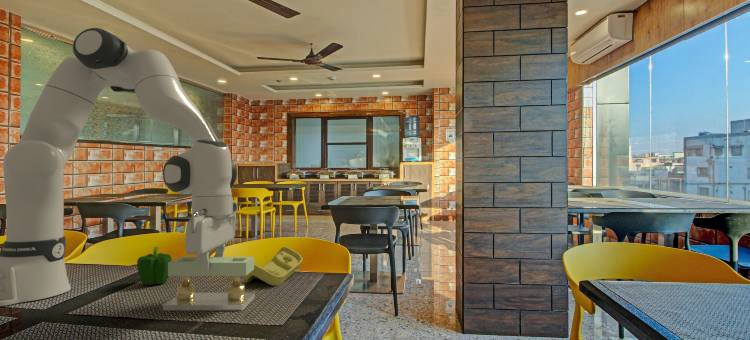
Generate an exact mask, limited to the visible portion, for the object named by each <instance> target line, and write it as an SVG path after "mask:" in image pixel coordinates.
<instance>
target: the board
mask: <svg viewBox="0 0 750 340" xmlns="http://www.w3.org/2000/svg"><path fill="white" fill-rule="evenodd" d="M208 257H209V261H211V268H210V269H208V270H201V269H200V261H199V259H198V256H180V257H178V258H175V259H173V260H172V261H171V262H169V263H168V276H169V277H171V276H172V277H175V276H176V277H177V276H179V277H182V276H190V277H192V276H193V277H194V276H195V277H196V276H198V277H200V276H201V277H203V276H204V277H207V276H208V277H211V276H213V277H217V276H219V277H223V276H224V277H230V276H231V277H233V276H240V277H241V276H243V277H245V276H246V275H248V274H249V273H250V272H251V271H252V270H254V265H255V257H254V256H223V257H214V256H208Z"/></svg>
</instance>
